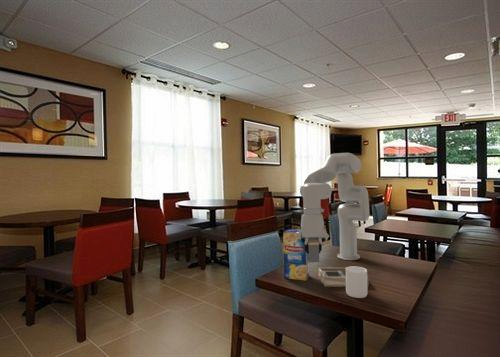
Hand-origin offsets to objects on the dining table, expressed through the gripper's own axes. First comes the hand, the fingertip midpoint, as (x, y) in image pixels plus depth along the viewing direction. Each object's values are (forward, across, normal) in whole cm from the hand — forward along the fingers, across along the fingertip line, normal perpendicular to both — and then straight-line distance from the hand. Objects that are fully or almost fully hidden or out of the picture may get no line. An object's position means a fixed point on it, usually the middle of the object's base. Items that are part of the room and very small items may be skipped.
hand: (313, 252), depth 131 cm
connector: (+4, 0, 0) cm, 4 cm away
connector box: (+15, -14, -4) cm, 21 cm away
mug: (+15, -16, +9) cm, 24 cm away
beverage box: (+15, +6, -10) cm, 19 cm away
